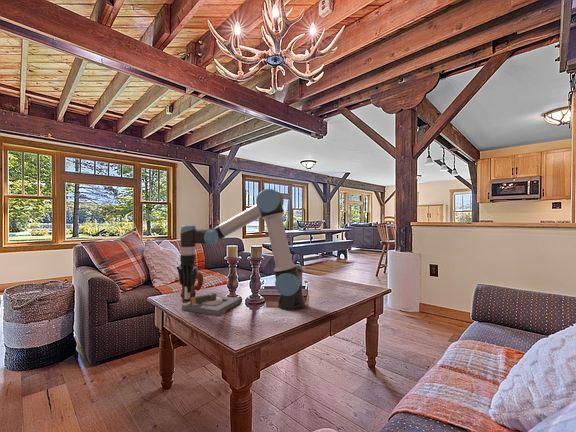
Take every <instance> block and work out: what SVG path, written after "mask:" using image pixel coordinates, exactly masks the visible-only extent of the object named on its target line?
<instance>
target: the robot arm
mask: <svg viewBox="0 0 576 432" xmlns="http://www.w3.org/2000/svg"><path fill="white" fill-rule="evenodd" d="M255 203H256V204H254V205H252V206H251V207H249V208H247V209H245V210H244V211H242V212H240V213H238V214H236V215H234V216H232V217H231V218H229V219H228V220H225V221H224V222H222V223H221V224H219V225H217V226H215V227H213V228H209V229H208V228H207V229H198V228H197V227H196V226H195V225H189V224H188V225H187V224H186V225H181V227H180V247H179V248H180V258H179V259H180V265H178V266H176V270H177V272H178V278H179V283H180V285H181V286H182V285H183V286H184V299H188V298H190V292H191V286H192V285H194V286H195V284H196V282H195V281H196V280H197V279H196V276H197V272H199V270H200V268H199V267H197V266H196V264H195V262H196V244H199V245H200V244H203V245H215V244H217V242H220V241H221V240H223V239H224V238H226V237H228V236H229V235H231V234H233V233H235V232H236V231H239V230H240V229H242V228H243V227H245V226H247V225H249V224H251V223H253V222H254V221H256V220H258V219H260V218H261V219H262V220H264V221H265V226H266V229H267V233H268V237H269V241H270V246H271V250H272V255H273V259H274V263H275V268H274V269H273V273H274V276H275V277H274V278H275V281H274V283H275V284H274V286H275V290H276V291H277V292H278V294H279V297H278V301H277V307H278V308H279V309H281V310H285V311H299V310H303V309H305V308H306V300H305V297H304V295H303V294H304V293H303V272H304V270H303V266H302V265H301V264H295V263H294V262H293V259H292V254H291V250H290V245H289V242H288V237H287V233H286V228H285V225H284V221H283V215H284V214H285V212H284V197H283V195H282V194H281V193H280V192H279V191H277V190H275V189H274V188H273V189H272V188H267V189H266V188H265V189H263V190H261V191H260V192H259V193H258V194H257V196H256V198H255Z"/></svg>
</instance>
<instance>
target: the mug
mask: <svg viewBox="0 0 576 432" xmlns="http://www.w3.org/2000/svg"><path fill="white" fill-rule="evenodd" d="M196 280H197V283H196ZM196 280H195V283H196V285H195V284H194V285H192V286H191V292H190V298H192V297H196V295H197V293H196V291H198V292H199V291H200V290H201V289H202V286H203V284H204V276H203V274H202V272H200V271H198V272H197V276H196ZM180 298H181V300H183V301H187V302H190V298H188V299H184V286H183V285H181V293H180Z"/></svg>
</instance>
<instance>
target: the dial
mask: <svg viewBox="0 0 576 432" xmlns="http://www.w3.org/2000/svg"><path fill="white" fill-rule="evenodd" d="M207 294H208V295H207ZM207 294H204V295H198V296H195V297H192V298H190V300H189V302H190V304H192V305H193V304H197V303H202V305H208V306H215V307H216V306H218V305H220V304H221V303H223V299H222V298H220V297H216V295H217V293H215V292H212V293H207Z"/></svg>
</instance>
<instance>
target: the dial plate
mask: <svg viewBox="0 0 576 432" xmlns="http://www.w3.org/2000/svg"><path fill="white" fill-rule="evenodd" d="M208 294H209V293H207V294H206V295H208ZM216 297H220V298H222V299H223V303H221V304H220V305H218V306H216V307H215V306H208V305H202V303H197V304H193V305H192V304H190V301H187V302H185V303H184V304H182V305H181V311H188V312H193V313H201V314H206V315H213V316H219V315H221V314H223V313H225V312H227V311H228V310H230V309H232V308H234V307H235V306H237V305H239V304H240V303H241V298H239V297H232V296H224V295H217V294H216Z"/></svg>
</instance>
